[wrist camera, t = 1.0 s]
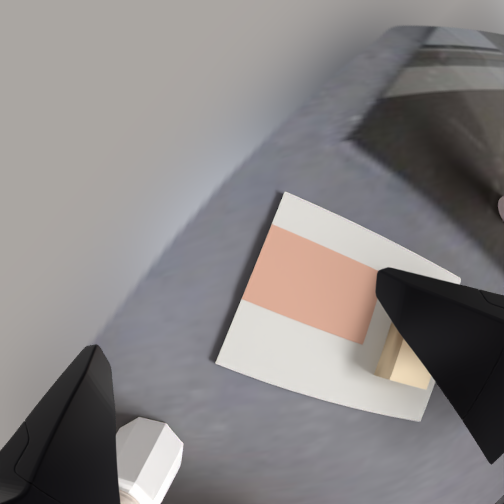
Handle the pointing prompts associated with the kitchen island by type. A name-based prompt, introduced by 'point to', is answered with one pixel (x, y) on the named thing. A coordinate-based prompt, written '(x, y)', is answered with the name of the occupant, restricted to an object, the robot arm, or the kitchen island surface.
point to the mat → (323, 312)
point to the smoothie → (501, 207)
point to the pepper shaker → (146, 460)
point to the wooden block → (401, 362)
